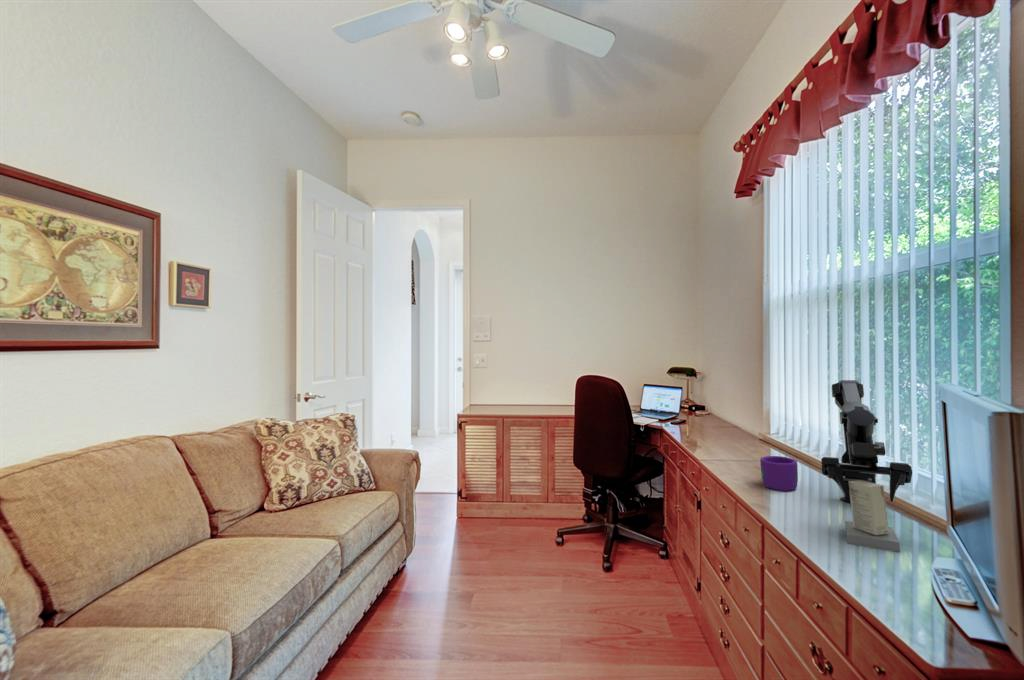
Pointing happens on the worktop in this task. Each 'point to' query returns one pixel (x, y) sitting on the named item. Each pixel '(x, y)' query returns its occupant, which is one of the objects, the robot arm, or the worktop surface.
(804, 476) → the worktop surface
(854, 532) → the flat gray square pad
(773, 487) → the purple oval open container
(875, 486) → the skincare box
